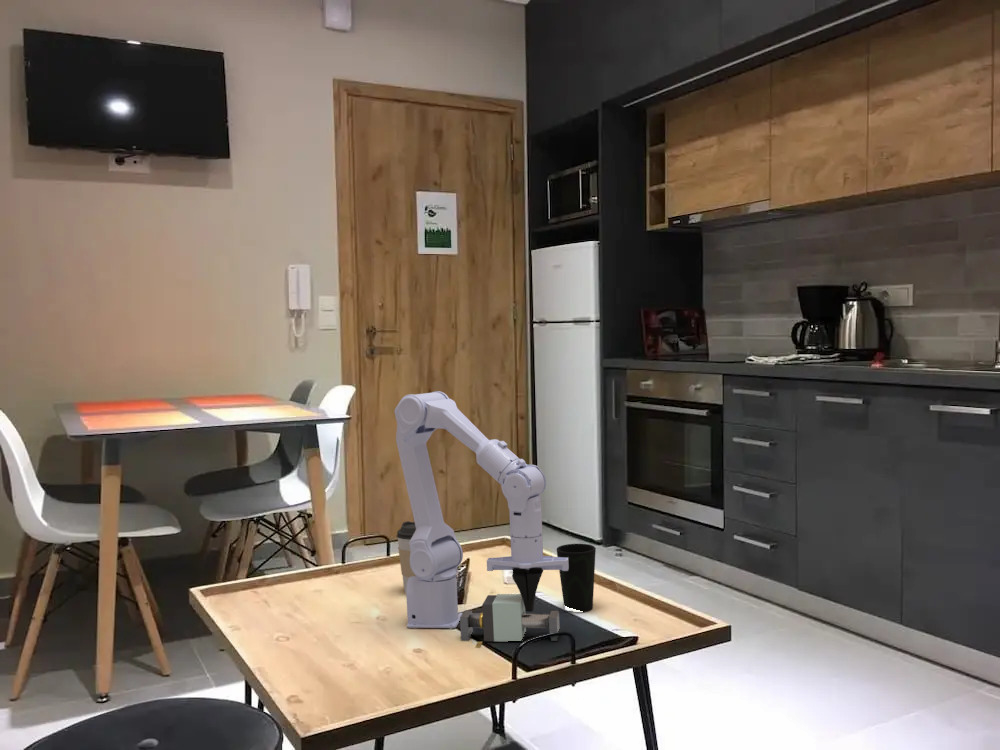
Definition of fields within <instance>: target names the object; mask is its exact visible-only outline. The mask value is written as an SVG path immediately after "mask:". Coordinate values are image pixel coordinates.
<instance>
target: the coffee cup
mask: <svg viewBox="0 0 1000 750" xmlns="http://www.w3.org/2000/svg"><path fill="white" fill-rule="evenodd" d="M415 531H416V526H415V522H414V521H409V520H407V521H404V522H402V524H401V526H400V528H399V529H398V530H397V531H396V533H397V534H396V538H397V543H398V547H397V548H398V556H399V563H400V571H401V575H402V581H403V582H402V583H403V589H404V590H403V591H404V594H405V593H406V590H407V582H408V579H409V578H410V577H411V576H416V575H415V574H414V573H413V571H412V569H411V567H410V553H411V550H410V545H409V542H410V540H411V538H412V536H413V534H414V533H415ZM434 541H435V540H434ZM434 541H433V542H434Z"/></svg>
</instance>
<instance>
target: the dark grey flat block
mask: <svg viewBox="0 0 1000 750" xmlns="http://www.w3.org/2000/svg"><path fill="white" fill-rule="evenodd" d="M496 596H497V594H495V595H494V594H488V595H487V596H486V598H485V599H484V601H483V603H482V613H483V628H482V629H483V642H495V641H494V628H493V607H492V603H493V601H494V600H495V598H496Z"/></svg>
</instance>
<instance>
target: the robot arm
mask: <svg viewBox="0 0 1000 750" xmlns="http://www.w3.org/2000/svg"><path fill="white" fill-rule="evenodd" d="M394 415H395V416H394V417H395V420H396V421H395V422H396V434H395V442H396V446H397V450H398V454H399V461H400V463H401V468H402V473H403V478H404V482H405V486H406V490H407V495H408V499H409V503H410V507H411V512H412V516H413V522H415V526H416V531H415V533H414V534H413V536H412V538H411V540H410V542H409V545H410V550H411V553H410V567H411V569H412V571H413V573H414V574H415V575H416V576H411V577H410V578H409V579H408V582H407V590H406V594H405V597H406V613H407V615H406V617H407V618H406V619H407V624H406V628H409V629H410V628H413V629H421V628H422V629H423V628H425V629H428V628H430V629H446V628H447V629H456V628H457V626H458V625H459V624H460V622H459V621H460V617H461V615H462V613H463V612H459V607H458V605H459V604H458V603H459V602H458V588H457V587H458V586H457V584H458V583H457V573H458V572H459V571H458V570H459V569H458V567H459V566H460V565H461V564H462V561H463V558H464V550H463V548H462V545H461V543H460V542H459V541H458V539H457V537H456V534H455V530H454V529H453V528H452V527H451V526H449V524H447V523H445V521H444V520H445V519H444V516H443V512H442V508H441V507H442V506H441V503H440V499H439V494H438V490H437V486H436V481H435V478H434V471H433V468H432V465H431V464H432V463H431V459H430V455H429V451H428V446H427V442H428V441H429V439H430V438H431V436H432V435H433V433H434V432H435V431H436V430H437V429H443V430H445V431H447V432H448V433H450V434H451V435H452V436H453V437H455V438H456V440H458V441H459V442H461V443H462V444H463V445H465V447H468V448H469V450H471V451H472V452H474V453H475V458H476V463H477V465H479V466H480V467H481V468H482V469H483V470H484V471H485V472H487V474H489V476H491V477H492V478H493V479H494V480H495V481H496V482H497V483H499V485H501V486H500V488H501V492H502V494H503V496H504V498H505V499H506V501H507V508H508V512H509V532H510V533H509V536H510V538H509V539H510V556H509V555H508V556H498V557H488V558H487V559H486V571H487V572H493V571H512V574H511V577H512V580H513V582H514V583H515V585H516V587H517V589H518V591H519V593H520V594H521V596H522V599H523V602H524V606H525V613H526V612H527V613H528V612H529V613H530V612H533V611H534V608H535V598H536V594H537V589H538V587H539V586H538V585H539V583H540V580H541V578H542V575H543V573H544V571H559V570H562V571H568V569H569V562H568V558H564V557H557V556H552V555H551V556H550V555H544V547H543V546H544V543H543V519H542V518H543V517H542V500H541V499H542V498H541V494H543V493H544V491H545V489H546V486H547V480H546V479H547V478H546V475H545V474H544V472H543V470H541V468H540V467H539V466H538V465H535V464H527V463H526V461H525V460H524V459H523V458H519V457H518V456H517V455H516V454H515V453H514V452H512V451H511V449H509V448H508V443H506V442H505V441H504V440H499V439H498V438H497V439H496V438H495V439H489V438H488V437H487V436H485V435H484V433H483V432H481V430H480V429H478V427H477V426H476V425H474V423H473V422H471V421H470V419H469V418H468V417H467V416H466V415H465V414H464V413H463V412H462V411H461V410H460V409H459V408H458V406H457V404H456V401H455V400H454V399H451V398H449V396H448V395H447V393H445V392H443V391H439V390H435V391H432V392H425V393H417V394H416V393H415V394H414V393H413V394H412V393H410V394H406V395H404V396H403V397H402V398H401V399H400V400H399V402H398V404H397V405H396V407H395V409H394ZM434 540H435V541H434ZM433 541H434V542H433Z"/></svg>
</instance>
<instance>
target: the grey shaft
mask: <svg viewBox="0 0 1000 750" xmlns="http://www.w3.org/2000/svg"><path fill="white" fill-rule="evenodd" d="M559 611H560V610H551V611H550V613H525V614H522V628H526V629H527V628H528V629H548V631H549V634H550V633H552V632H558V631H559V629H561V627H560V612H559ZM461 613H462V615H461V617H460V622H459V626H460V641H464V642H465V641H466V642H467V641H470V639H471V637H472V636H471V634H472V632H473V633H474V629H473V628H479V629H484V628H483V612H480V613H473V611H472V610H471V609H470V610H467V609H466V610H463V612H461ZM472 635H473V634H472ZM483 642H484V641H477V642H476V645H475V647H474V648H481V647H482V645H483Z"/></svg>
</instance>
